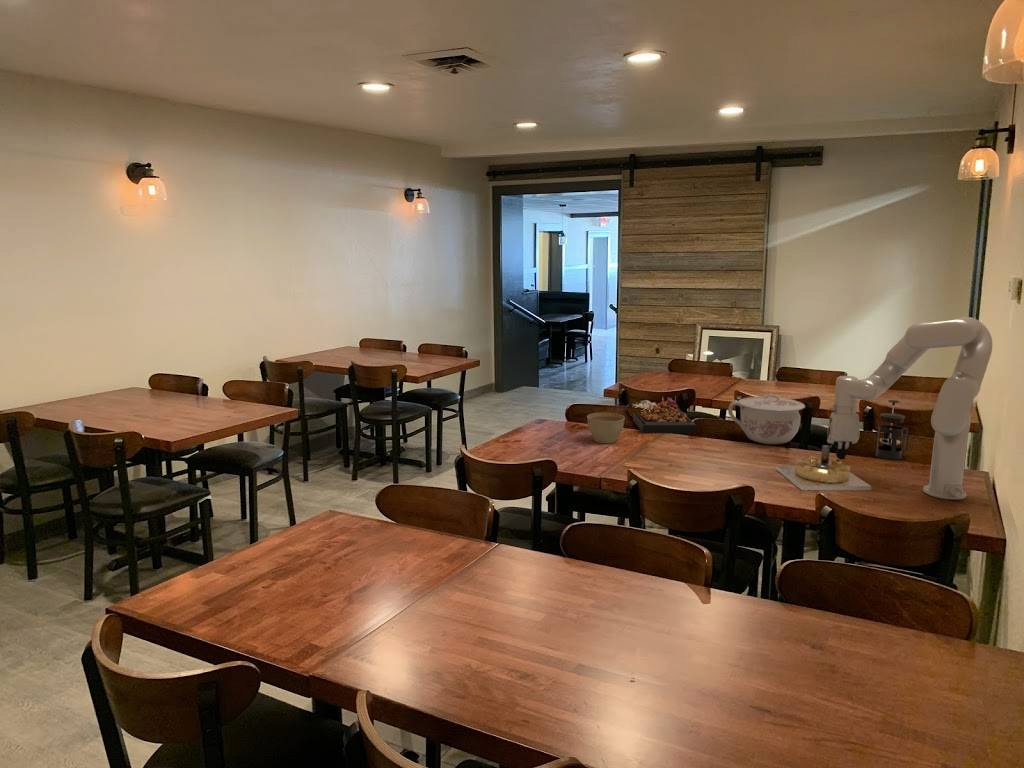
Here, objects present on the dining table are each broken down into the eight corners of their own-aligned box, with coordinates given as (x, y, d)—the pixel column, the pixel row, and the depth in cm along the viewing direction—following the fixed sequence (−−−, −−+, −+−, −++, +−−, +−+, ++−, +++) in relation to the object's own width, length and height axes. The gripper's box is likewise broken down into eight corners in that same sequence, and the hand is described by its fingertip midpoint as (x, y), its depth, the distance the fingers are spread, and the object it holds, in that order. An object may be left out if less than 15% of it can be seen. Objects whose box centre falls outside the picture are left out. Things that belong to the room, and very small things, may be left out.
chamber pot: (816, 445, 305) (820, 397, 301) (765, 452, 295) (768, 402, 291) (770, 430, 331) (773, 386, 327) (721, 436, 321) (724, 390, 317)
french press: (878, 459, 285) (883, 402, 281) (870, 452, 294) (875, 397, 290) (909, 460, 283) (915, 403, 279) (900, 453, 292) (906, 398, 288)
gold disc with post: (858, 482, 251) (860, 457, 249) (807, 482, 251) (809, 457, 249) (835, 467, 268) (837, 443, 267) (787, 467, 268) (789, 444, 267)
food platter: (626, 412, 370) (627, 392, 368) (674, 412, 370) (675, 392, 368) (642, 434, 326) (643, 412, 324) (696, 434, 326) (697, 412, 324)
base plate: (870, 490, 248) (871, 485, 248) (801, 490, 248) (801, 485, 248) (839, 469, 272) (839, 464, 271) (776, 469, 271) (776, 465, 271)
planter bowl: (583, 444, 307) (583, 419, 305) (590, 435, 322) (591, 411, 320) (621, 447, 303) (621, 422, 301) (626, 437, 318) (627, 413, 316)
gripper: (828, 412, 258) (824, 461, 261) (870, 412, 258) (865, 461, 261) (820, 407, 265) (816, 455, 269) (860, 407, 265) (856, 455, 269)
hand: (840, 458), depth 265 cm, fingers closed
